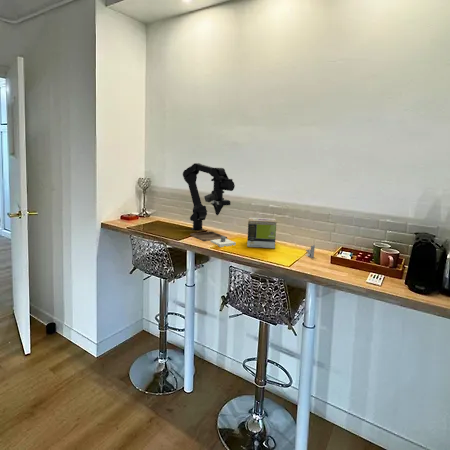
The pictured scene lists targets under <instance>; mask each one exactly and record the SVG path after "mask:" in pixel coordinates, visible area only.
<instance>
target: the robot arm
mask: <svg viewBox="0 0 450 450" xmlns="http://www.w3.org/2000/svg"><path fill="white" fill-rule="evenodd" d="M200 172H202V173H205V174H209V175H210V176H211V177H213V178H211V180H210V182H213V188H212V190H211V193H209V194H206V195H204V196H203V198H204V201H205V202H206V203H210V205H212V206H213V209H214V212H215V216H219V215H220V213H221V211H222V209H223V207H225V206H231V200H229V199H225V198H224V195H223V194H225V191H229V192H232V191H234V189H235V186H236V185H235V182H234V181H233V180H234V179H233V178H229V176H228V174H227V173H226V170H225V168H224V167H212V166H209V165H205V164H202V163H199V162H198V163H197V162H196V163H192V164H191V166H188V167H187V168H186V169H184V170H183V172H182V177H183V180H184V181H185V182H186V183H187V186H188V189H189V192H190V196H191V201H192V203H193V208H192V214H191V215H190V216H189V220H190V221H192V228H190V229H191V230H193V231H203V230H204V228H203V221H205V220H206V217H207V216H208V210H207V206H206V205H204V204H202V201H201V197H200V193H199V190H198V186H197V176H198V174H199V173H200Z"/></svg>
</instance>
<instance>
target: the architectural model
mask: <svg viewBox="0 0 450 450" xmlns="http://www.w3.org/2000/svg"><path fill="white" fill-rule="evenodd" d="M315 246H316V245H315V244H313V245H311V246H310V248H309V247H308V248H306V249H305V251H306V254H305V256H306V257H310V259H312V258H314V257H315Z"/></svg>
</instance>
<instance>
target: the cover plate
mask: <svg viewBox="0 0 450 450" xmlns="http://www.w3.org/2000/svg"><path fill="white" fill-rule="evenodd" d="M226 237H227V236H226ZM226 237H225V235H223V236H221V239H216V240H210V241H209V242H210V243H212V244H214V245H217V247H219V248H224V246H226V247H233V246H236V245H237V244H236V243H237V242H236V241H233V240H231V239H229V238H227V239H226ZM232 245H233V246H232Z"/></svg>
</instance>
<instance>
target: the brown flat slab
mask: <svg viewBox="0 0 450 450" xmlns="http://www.w3.org/2000/svg"><path fill="white" fill-rule="evenodd" d="M189 235H190V237H193V238H195V239H198V240H201V241H203V242H210V240H216V239H221V236H225V235H223V234H220V233H217V232H215V231H212V230H209V231H201V232H195V233H194V232H193V233H190V234H189ZM225 237H226V239H228V237H227V236H225Z"/></svg>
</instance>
